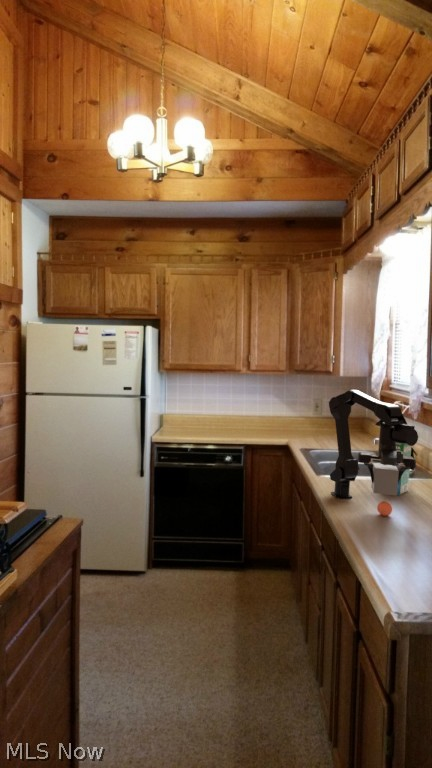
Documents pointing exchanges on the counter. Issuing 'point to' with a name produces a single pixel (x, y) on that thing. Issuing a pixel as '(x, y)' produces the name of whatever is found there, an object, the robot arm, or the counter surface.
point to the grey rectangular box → (385, 479)
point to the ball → (384, 508)
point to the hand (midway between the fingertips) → (384, 483)
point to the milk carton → (405, 476)
